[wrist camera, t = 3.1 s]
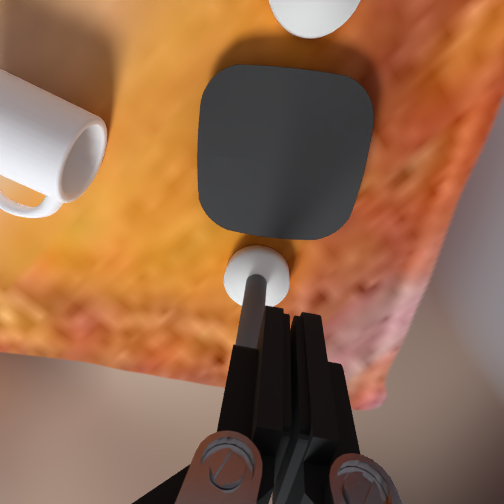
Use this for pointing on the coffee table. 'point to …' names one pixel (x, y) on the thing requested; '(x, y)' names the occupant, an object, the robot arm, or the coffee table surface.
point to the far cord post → (255, 287)
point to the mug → (46, 145)
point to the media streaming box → (282, 150)
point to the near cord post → (312, 16)
